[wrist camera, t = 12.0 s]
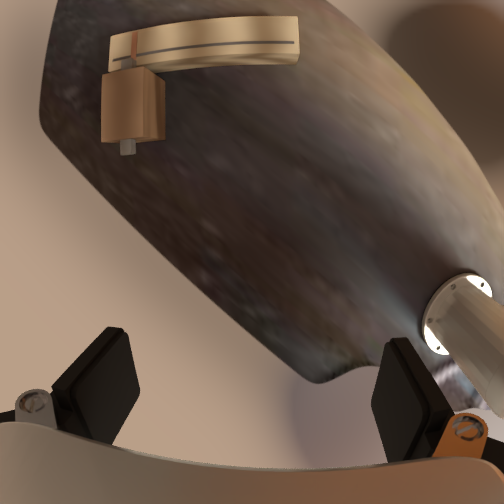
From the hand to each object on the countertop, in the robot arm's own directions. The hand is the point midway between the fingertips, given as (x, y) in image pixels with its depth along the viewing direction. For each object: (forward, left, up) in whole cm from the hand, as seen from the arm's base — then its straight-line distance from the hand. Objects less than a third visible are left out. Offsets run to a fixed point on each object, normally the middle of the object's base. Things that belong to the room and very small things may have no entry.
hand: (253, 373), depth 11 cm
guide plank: (+6, -20, -26) cm, 34 cm away
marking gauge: (+13, -13, -26) cm, 32 cm away
